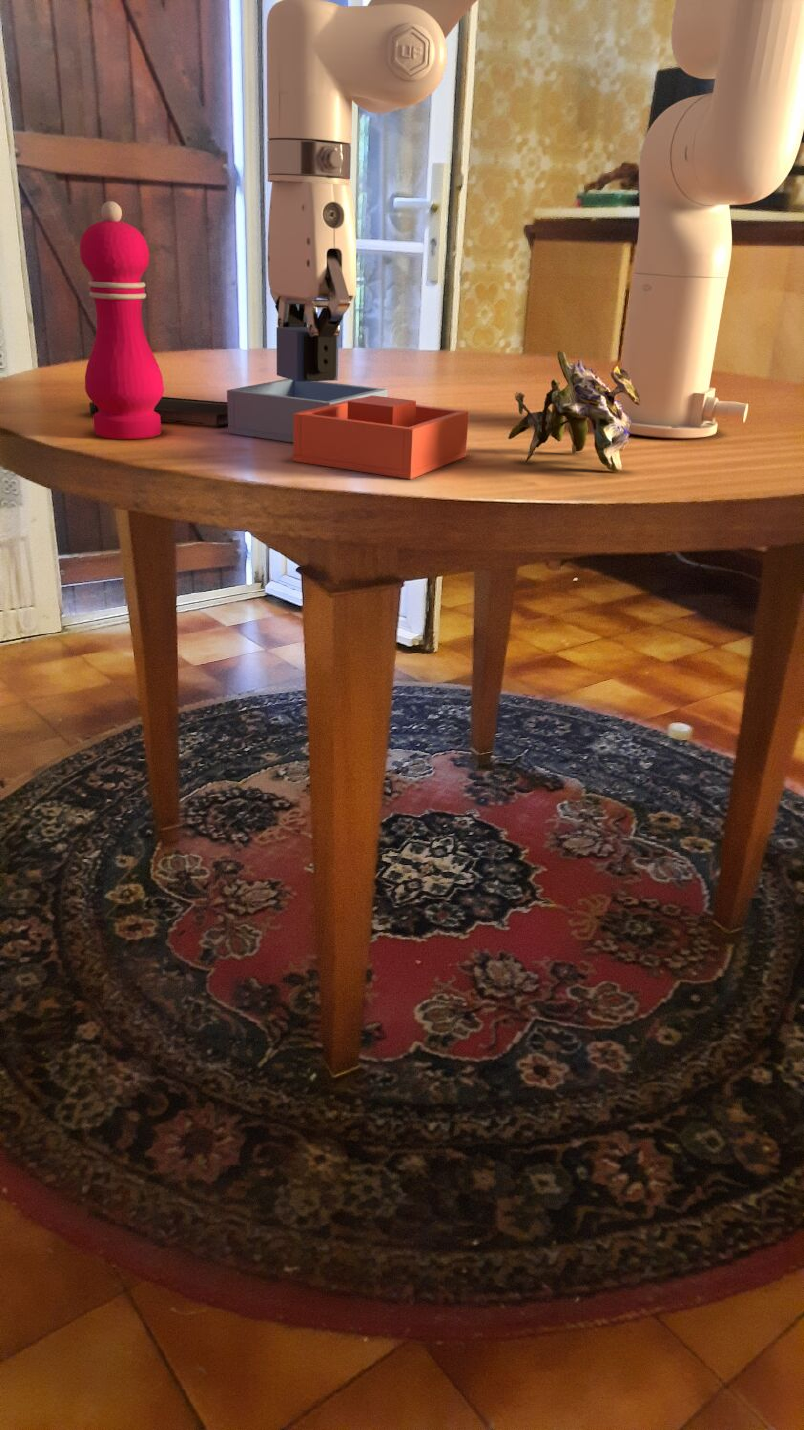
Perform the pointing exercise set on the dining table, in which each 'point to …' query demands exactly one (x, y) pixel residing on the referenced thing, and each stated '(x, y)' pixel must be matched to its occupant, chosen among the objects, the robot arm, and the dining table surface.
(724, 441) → the dining table surface
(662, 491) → the dining table surface
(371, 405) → the red block
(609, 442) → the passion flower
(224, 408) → the phone
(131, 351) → the pepper mill
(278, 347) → the blue block
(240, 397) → the blue bin
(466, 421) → the red bin
